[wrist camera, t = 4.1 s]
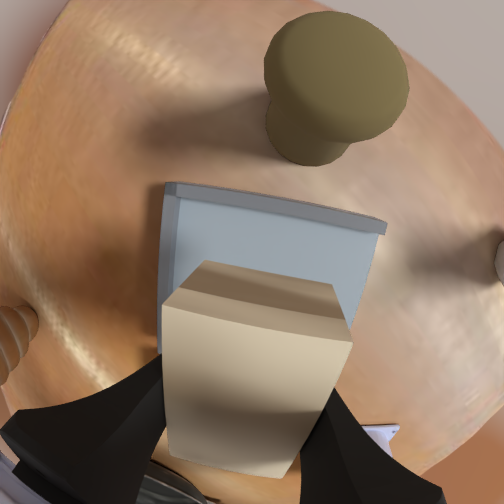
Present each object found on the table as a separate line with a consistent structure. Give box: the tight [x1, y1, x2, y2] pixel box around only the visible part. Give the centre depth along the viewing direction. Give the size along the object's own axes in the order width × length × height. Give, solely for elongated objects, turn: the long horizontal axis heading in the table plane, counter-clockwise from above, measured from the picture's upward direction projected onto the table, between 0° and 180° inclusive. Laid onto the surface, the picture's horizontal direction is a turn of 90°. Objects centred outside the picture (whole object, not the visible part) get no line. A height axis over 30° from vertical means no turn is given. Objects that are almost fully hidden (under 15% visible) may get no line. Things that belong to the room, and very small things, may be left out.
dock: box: [157, 181, 387, 354], centre depth 19 cm, size 13×14×2 cm
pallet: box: [162, 260, 354, 479], centre depth 10 cm, size 8×5×4 cm, turn 171°
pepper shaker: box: [264, 11, 409, 166], centre depth 11 cm, size 6×6×11 cm
